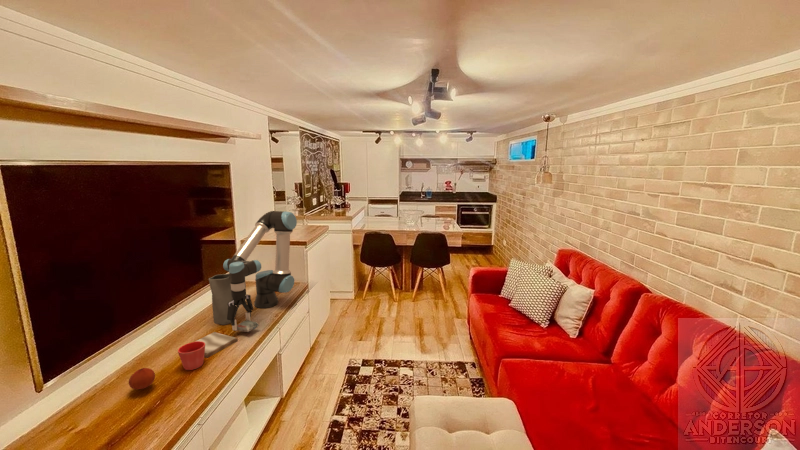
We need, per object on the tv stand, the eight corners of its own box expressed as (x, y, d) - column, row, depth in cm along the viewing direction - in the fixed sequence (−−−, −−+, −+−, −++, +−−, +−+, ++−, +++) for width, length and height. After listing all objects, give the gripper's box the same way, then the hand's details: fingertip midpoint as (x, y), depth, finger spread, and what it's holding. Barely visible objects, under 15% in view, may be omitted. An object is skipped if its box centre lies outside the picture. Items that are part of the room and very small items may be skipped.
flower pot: (182, 362, 156) (180, 343, 155) (208, 357, 160) (206, 339, 159) (177, 374, 147) (175, 354, 145) (205, 368, 151) (203, 349, 149)
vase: (208, 327, 192) (203, 279, 187) (221, 318, 204) (217, 273, 199) (227, 328, 190) (223, 280, 186) (240, 319, 202) (236, 273, 198)
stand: (214, 334, 183) (214, 331, 183) (237, 340, 176) (237, 337, 176) (183, 350, 167) (182, 346, 166) (207, 357, 160) (206, 354, 160)
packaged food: (248, 334, 179) (247, 326, 178) (232, 332, 183) (231, 324, 182) (260, 328, 187) (259, 320, 187) (244, 326, 191) (243, 318, 190)
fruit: (132, 384, 140) (129, 367, 138) (157, 378, 144) (155, 361, 143) (127, 396, 132) (124, 378, 131) (154, 389, 136) (151, 372, 135)
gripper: (249, 282, 193) (251, 317, 197) (216, 295, 174) (220, 333, 177) (258, 284, 190) (261, 319, 194) (226, 297, 171) (230, 336, 174)
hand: (241, 326), depth 186 cm, fingers closed on packaged food, 9 cm apart
